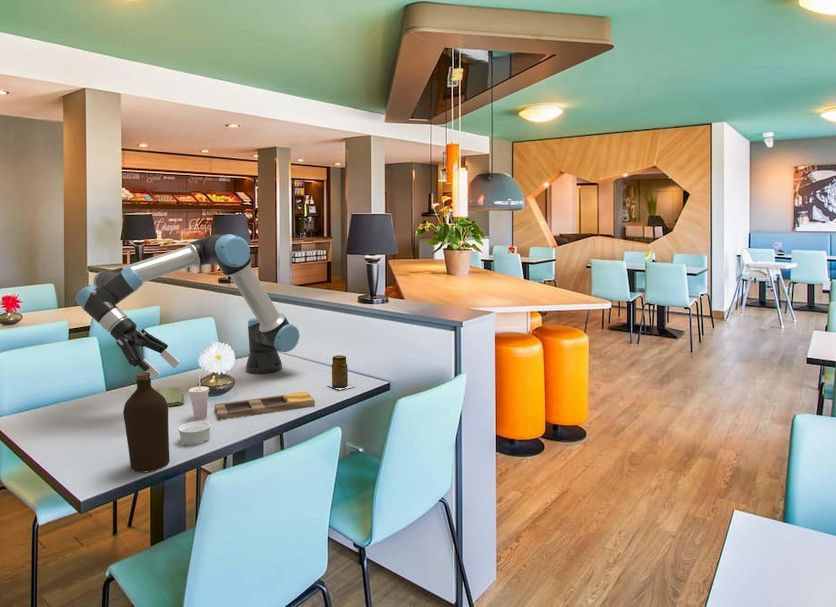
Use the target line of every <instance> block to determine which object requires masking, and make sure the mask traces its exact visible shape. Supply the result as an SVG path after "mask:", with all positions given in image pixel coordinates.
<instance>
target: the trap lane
mask: <svg viewBox="0 0 836 607" xmlns="http://www.w3.org/2000/svg"><path fill="white" fill-rule="evenodd" d="M315 406H316V400H315V399H314V398H313V397H312V396H311V395H310V393H309V392H307V391H301V392H300V391H299V392H293V393H286V394H280V395H273V396H267V397H265V396H264V397H259V398H251V399H245V400H238V401H231V402H223V403H216V404H214V412H215V414H217V415H216V417H217V420H218V421H221V420H220V419H223V420H228V419H227V418H230V419H235V418H234V417H237V418H241V416H244V417H247V416H248V415H250V416H256V415H255V414H257V415H263V414H262V413H264V414H269V413H268V412H270V413H274V412H275V411H277V412H283V410H284V411H289V410H290V411H291V410H296V409H303V408H309V407H315ZM275 413H276V412H275ZM248 417H249V416H248Z"/></svg>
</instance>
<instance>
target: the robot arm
mask: <svg viewBox="0 0 836 607" xmlns="http://www.w3.org/2000/svg"><path fill="white" fill-rule="evenodd" d="M250 254H251V249H250V245H249V244H248V242H247V241H246V239H244V238H243V237H242V236H239V235H235V234H210V235H207V236H204V237H201V238H199V239H197V240H193V241H191V242H188V243H186V244H185V246H183V247H180V248H178V249H174V250H172V251H167V252H166V253H162V254H158V255H155V256H152V257H149V258H146V259H143V260H140V261H137V262H133V263H129V264H127V265H125V266H124V265H123V266H121V267H118V268H114V269H111V270H103V271H99V272H98V273H96V274H95V276H94V278H93V282H92V283H93V284H89V285H87V286H85V287H83V288H82V289H81V290H79V292H78V293H77V294H76V296H75V302H76V303H77V304H78V305H79V306H80V307H81V308H82V309H83V311H85V312H86V313H87V314H88V315H89V316H90V317H91V318H92V319H93V320H94V321H96V322H97V323H98V324H99V325H100V326H101V327H102V328H103V329H104V330H105V331H107V333H109V334H110V335H111V337H112V338H114V339H115V343H116V345H117V346H118V347H119V348H120V350H121V351H122V353H123V356H124V357H125V358H126V360H127V362H128V364H129V366H133V367H137V366H138V367H139V368H140V369H141V370H143V372H148V373H150V378H151V380H155V379H156V378H157V377H158V376H159V375H160V373H161V372H159V370H157V369H156V368H155V367H154V365H152V364H151V363H150V362H149V361H148V360H147V359H146V358H143V357H142V353H141V351H140V347H141V348H142V347H145V348H147V349H149V350H152V351H154V352H157V353H159V356H161V358H163V359H164V360H165V361H166V363H168V364H169V365H170V366H171V367H172V368H173V369H175V368H177V367H178V365H179V364H180V363H181V361H180V360H179V359H177V358H176V357H175V356H174V355H173V353H171V352H170V351H169V350H168V347H169V346H168V344H167V343H165V342H163V341H162V340H160V339H158V338H157V337H155V336H153V335H152V334H150V333H149V332H147V330H145V329H141V330H140V331H138V330H137V327H138V326H137V324H136V323H135V322H134V321H133V320H132V319H131V318H129V317H128V315H127V314H126V313H125V312H123V310H121V308H119V307H118V306H117V305H118V304H119V303H121V302H122V301H123V300H125V299H126V298H128V297H129V296H130V295H132V294H133V293H135V292H136V291H138V290H139V289H140V288H141V287H142V286H143V285H144V283H146V282H149V281H152V280H155V279H157V278H160V277H164V276H166V275H169V274H172V273H175V272H177V271H181V270H184V269H187V268H190V267H192V266H193V267H194V268H199V267H200V266H201V267H202V266H205V265H217V266H218V267H219V269H220V270H221V272H222V273H223V275H224V276H226V277H230V278H231V280H232V282H233V283H234V285H235V286H236V287H237V290H238V291H239V293H240V294H241V295H242V297H243V299H244V301H245V303H246V304H247V305H248V307H249V309H250V310H251V311H252V314H253V315H254V317H252V318H249V320H248V323H247V329H248V330H247V331H248V348H249V354H248V357H247V361H246V365H245V371H246V372H247V373H250V374H259V375H260V374H262V375H263V374H270V373H275V372H279V371H281V370H282V369H283V362H282V360H281V357H280V355H279V352H280V353H288V352H290V351H292V350H294V349H295V348H296V346H297V345H298V344H299V339H300V331H299V329H298V327H297V326H296V325H294V324H291V323H290V322H289V321H288V319H287V317H286V316H285V314H283V313H281V312H279V311H278V310H277V308H276V306H275V304H274V303H273V301H272V299H271V298H270V296H269V294H268V293H267V291H266V290H265V287H264V286H263V285H262V283H261V281H260V280H259V277H258V276H257V274H256V273H255V271H254V269H253V268H252V266H251V265H252V258H251V256H250Z"/></svg>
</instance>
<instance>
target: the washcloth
mask: <svg viewBox="0 0 836 607" xmlns="http://www.w3.org/2000/svg"><path fill="white" fill-rule="evenodd" d="M154 389H155V388H154ZM155 390H156V391H157V392H158V393H160V394H161V395H162V396H163V397H164V398H165V399H166V402H167V404H168V407H174V406H183V405H185V399H184V394H183V393H184V391H183V388H182V387H171V388H169V387H168V388H162V389H159V388H156V389H155Z"/></svg>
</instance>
